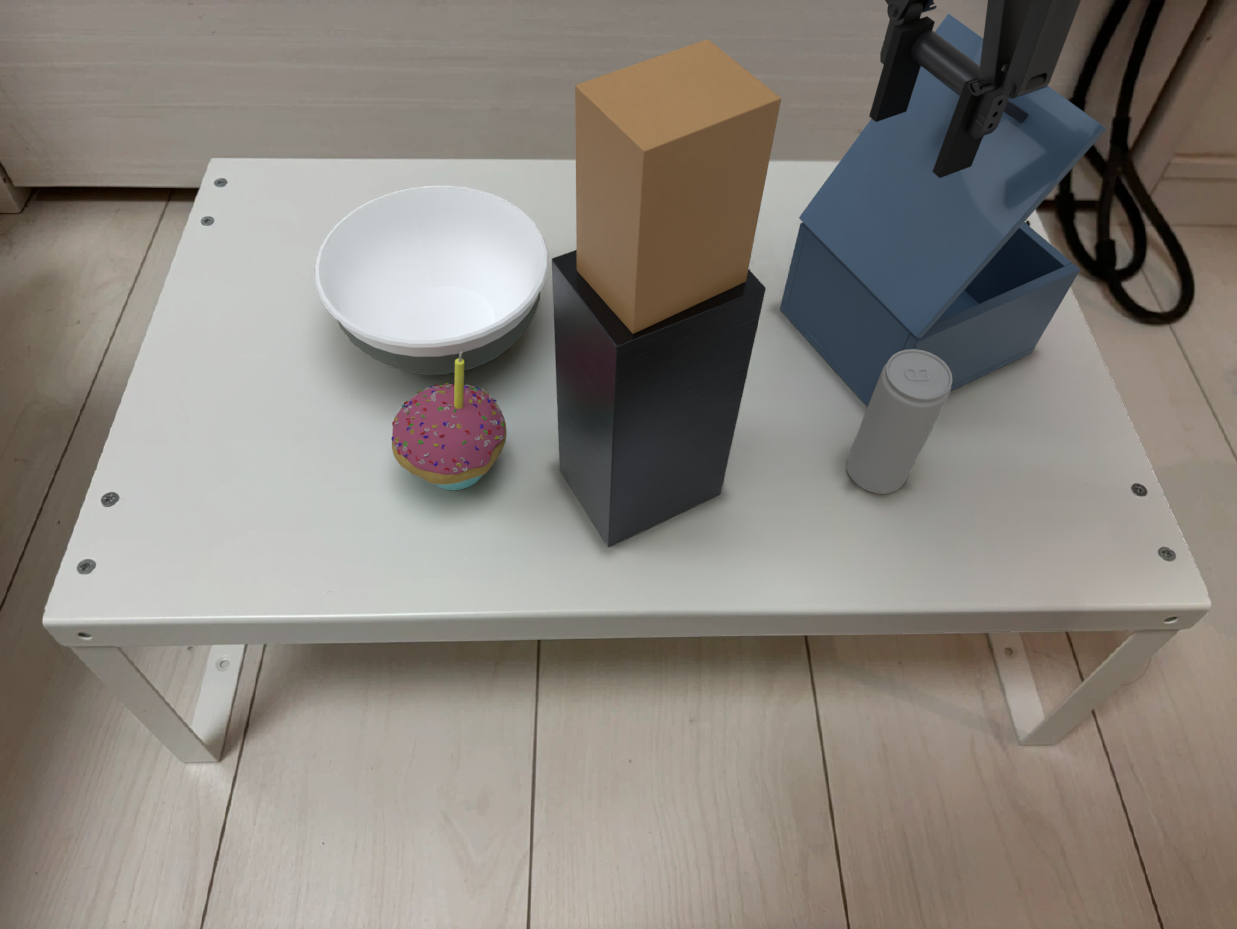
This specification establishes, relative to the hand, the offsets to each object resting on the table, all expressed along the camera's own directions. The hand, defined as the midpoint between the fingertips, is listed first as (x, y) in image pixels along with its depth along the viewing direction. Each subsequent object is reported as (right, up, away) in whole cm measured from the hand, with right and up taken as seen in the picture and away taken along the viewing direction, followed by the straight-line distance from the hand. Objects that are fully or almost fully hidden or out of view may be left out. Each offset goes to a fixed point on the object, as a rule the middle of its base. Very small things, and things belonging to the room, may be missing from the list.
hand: (919, 140), depth 63 cm
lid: (+3, -1, +5) cm, 6 cm away
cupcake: (-33, -22, +10) cm, 41 cm away
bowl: (-36, -10, +18) cm, 41 cm away
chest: (+5, -10, +20) cm, 23 cm away
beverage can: (0, -23, +11) cm, 25 cm away
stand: (-19, -23, +10) cm, 31 cm away
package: (-18, -11, -8) cm, 23 cm away
